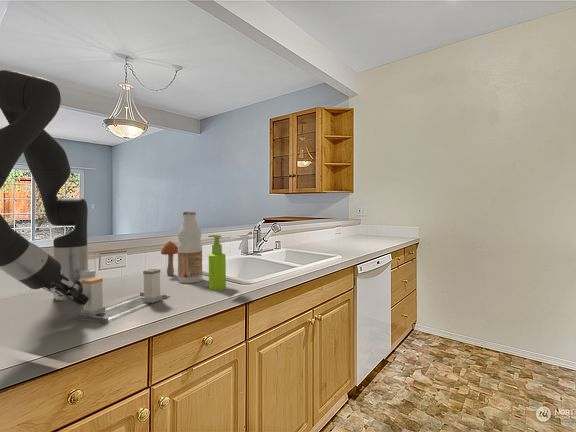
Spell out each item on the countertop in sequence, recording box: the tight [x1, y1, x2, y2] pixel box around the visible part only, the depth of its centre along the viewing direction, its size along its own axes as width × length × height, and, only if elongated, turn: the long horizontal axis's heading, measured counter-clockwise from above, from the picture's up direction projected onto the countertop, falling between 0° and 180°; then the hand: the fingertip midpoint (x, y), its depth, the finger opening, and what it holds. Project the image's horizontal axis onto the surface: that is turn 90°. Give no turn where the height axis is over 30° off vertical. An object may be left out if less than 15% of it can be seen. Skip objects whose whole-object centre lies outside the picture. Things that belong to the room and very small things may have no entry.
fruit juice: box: [177, 211, 203, 284], centre depth 123 cm, size 9×9×28 cm
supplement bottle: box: [79, 269, 99, 294], centre depth 98 cm, size 5×5×10 cm
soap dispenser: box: [207, 234, 227, 291], centre depth 109 cm, size 6×7×20 cm
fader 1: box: [80, 277, 106, 315], centre depth 83 cm, size 4×4×9 cm
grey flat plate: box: [73, 291, 172, 325], centre depth 89 cm, size 11×24×2 cm, turn 161°
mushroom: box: [160, 240, 178, 276], centre depth 134 cm, size 8×8×15 cm
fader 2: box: [142, 268, 162, 303], centre depth 93 cm, size 4×4×9 cm
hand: (84, 301), depth 80 cm, fingers closed
